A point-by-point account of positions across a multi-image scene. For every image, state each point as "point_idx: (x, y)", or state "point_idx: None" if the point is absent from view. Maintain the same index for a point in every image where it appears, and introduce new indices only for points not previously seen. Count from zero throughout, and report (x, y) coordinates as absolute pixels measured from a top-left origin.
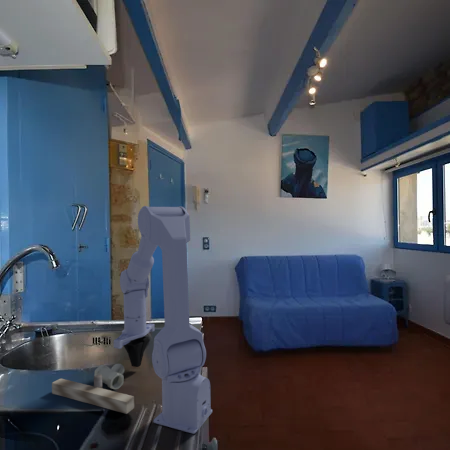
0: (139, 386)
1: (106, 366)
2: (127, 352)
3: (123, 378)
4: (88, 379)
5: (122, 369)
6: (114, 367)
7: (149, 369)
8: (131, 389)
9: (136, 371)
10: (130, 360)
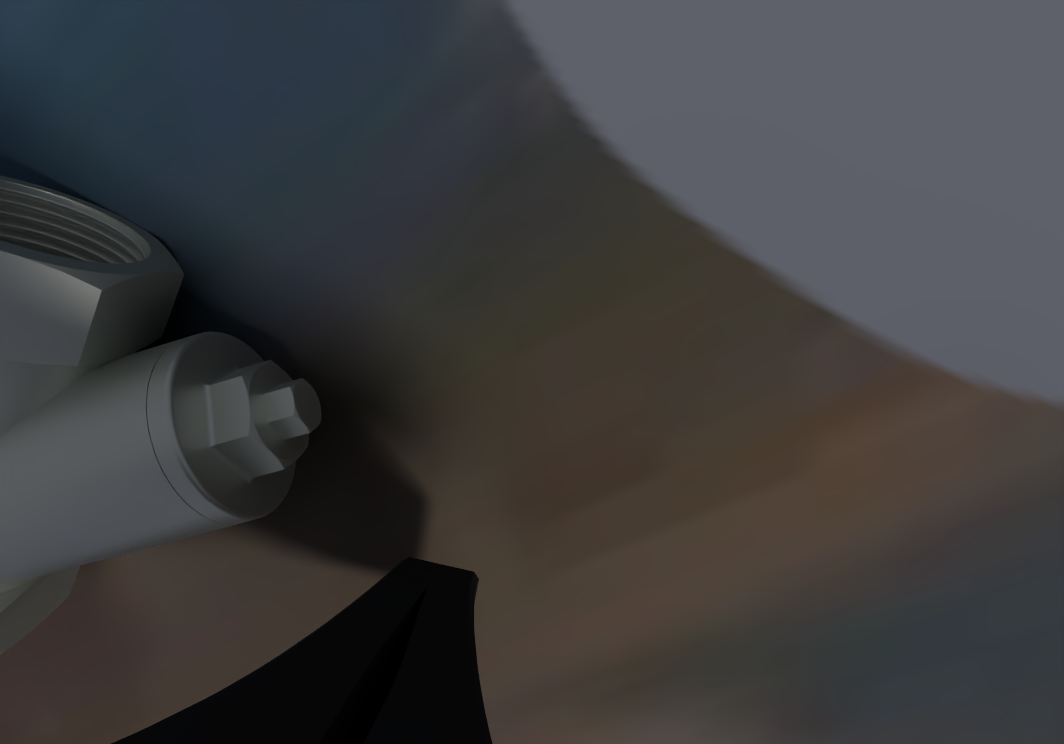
0: None
1: (44, 301)
2: (225, 692)
3: (7, 646)
4: (50, 48)
5: (176, 539)
6: (23, 487)
7: (525, 698)
8: (75, 680)
9: None
10: (363, 600)
